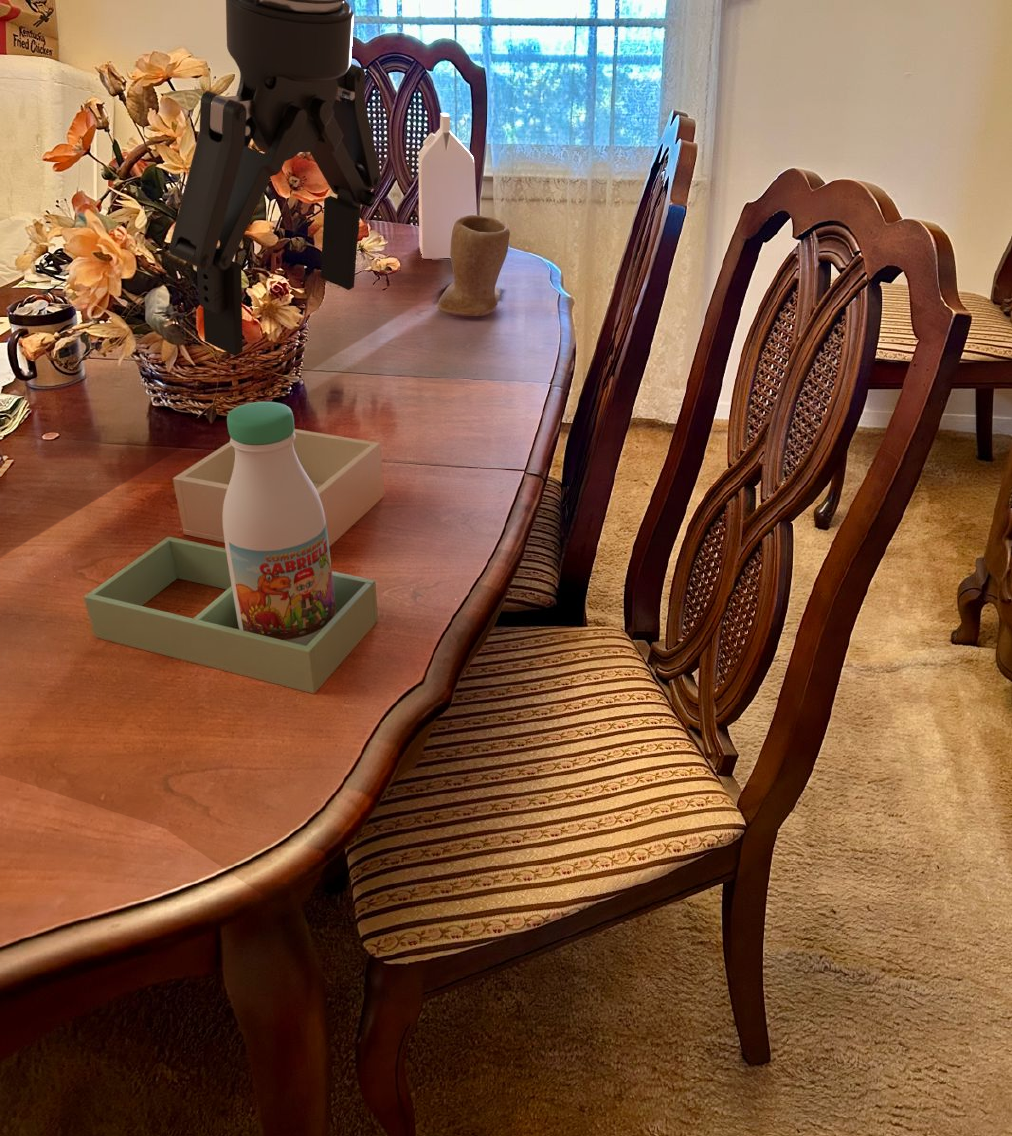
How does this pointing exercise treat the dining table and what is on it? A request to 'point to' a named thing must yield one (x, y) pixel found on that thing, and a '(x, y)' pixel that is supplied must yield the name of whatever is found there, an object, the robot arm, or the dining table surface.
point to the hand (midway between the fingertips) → (284, 313)
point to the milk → (443, 189)
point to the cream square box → (331, 463)
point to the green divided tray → (223, 619)
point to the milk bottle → (275, 530)
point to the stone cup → (475, 266)
